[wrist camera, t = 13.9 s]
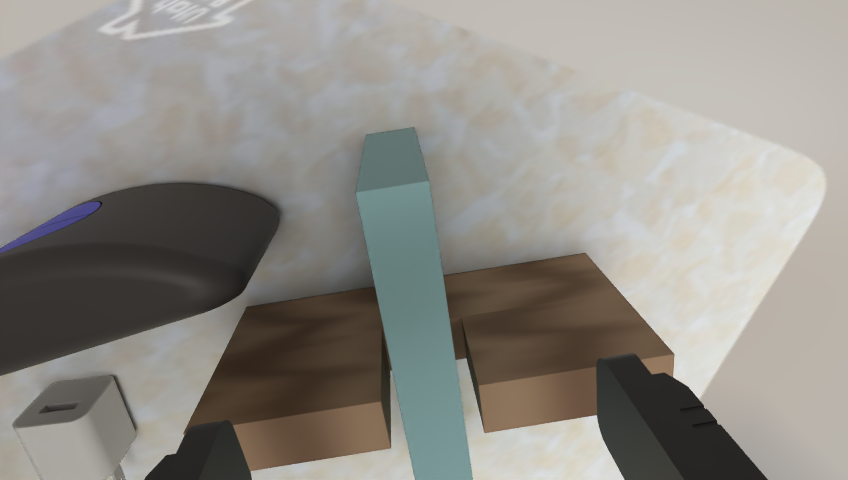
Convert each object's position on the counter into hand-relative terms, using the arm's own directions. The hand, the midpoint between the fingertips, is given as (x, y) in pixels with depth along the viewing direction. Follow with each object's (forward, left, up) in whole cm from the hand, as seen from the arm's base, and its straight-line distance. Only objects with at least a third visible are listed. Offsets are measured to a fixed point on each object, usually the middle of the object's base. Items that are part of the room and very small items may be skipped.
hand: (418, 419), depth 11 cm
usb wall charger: (-21, -12, -18) cm, 30 cm away
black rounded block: (-14, -1, -18) cm, 23 cm away
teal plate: (0, -7, -18) cm, 19 cm away
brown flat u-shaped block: (0, -7, -18) cm, 19 cm away
